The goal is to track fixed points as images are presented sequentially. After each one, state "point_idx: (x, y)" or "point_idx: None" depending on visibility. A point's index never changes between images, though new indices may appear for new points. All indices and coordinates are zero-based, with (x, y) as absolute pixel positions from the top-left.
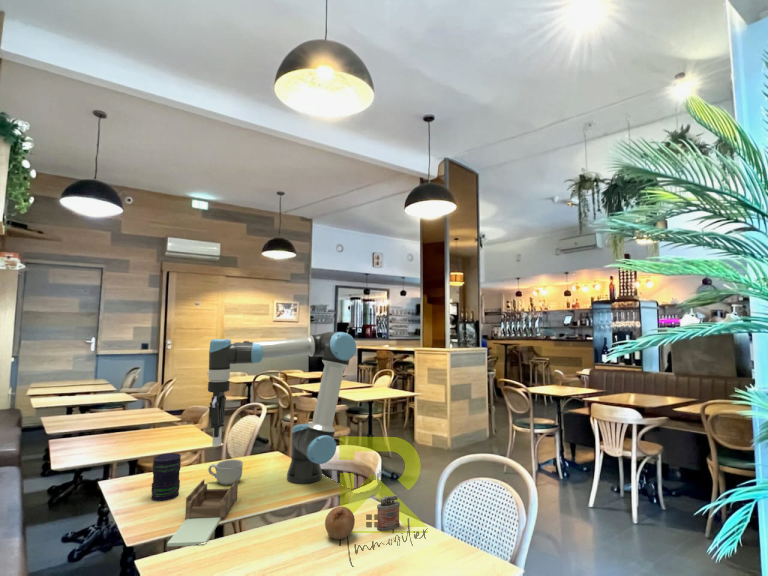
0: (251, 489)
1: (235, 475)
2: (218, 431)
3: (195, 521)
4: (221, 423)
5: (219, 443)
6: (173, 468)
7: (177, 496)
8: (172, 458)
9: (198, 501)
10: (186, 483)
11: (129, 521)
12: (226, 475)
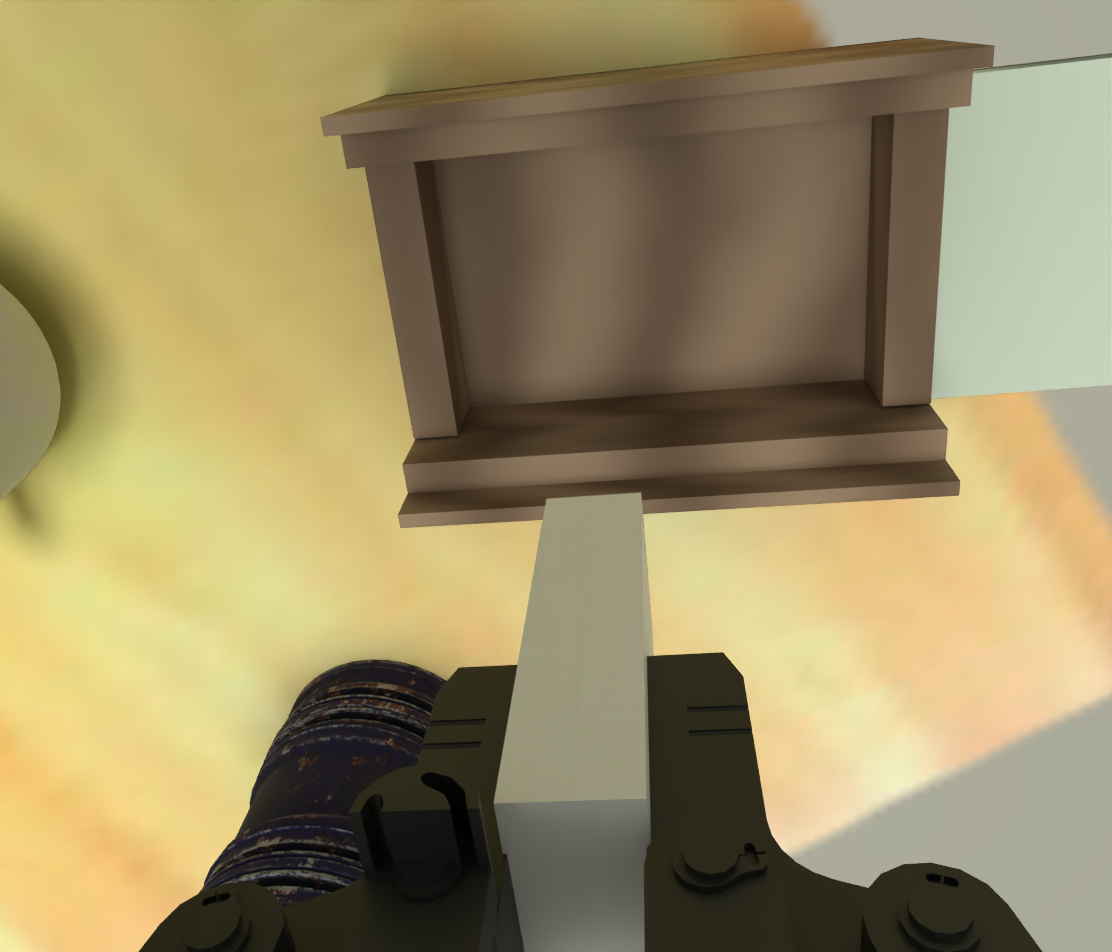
0: (85, 26)
1: None
2: (677, 758)
3: (988, 298)
4: (459, 920)
5: (640, 532)
6: None
7: (381, 660)
8: None
9: (685, 414)
10: (94, 701)
11: (853, 779)
12: (20, 379)
